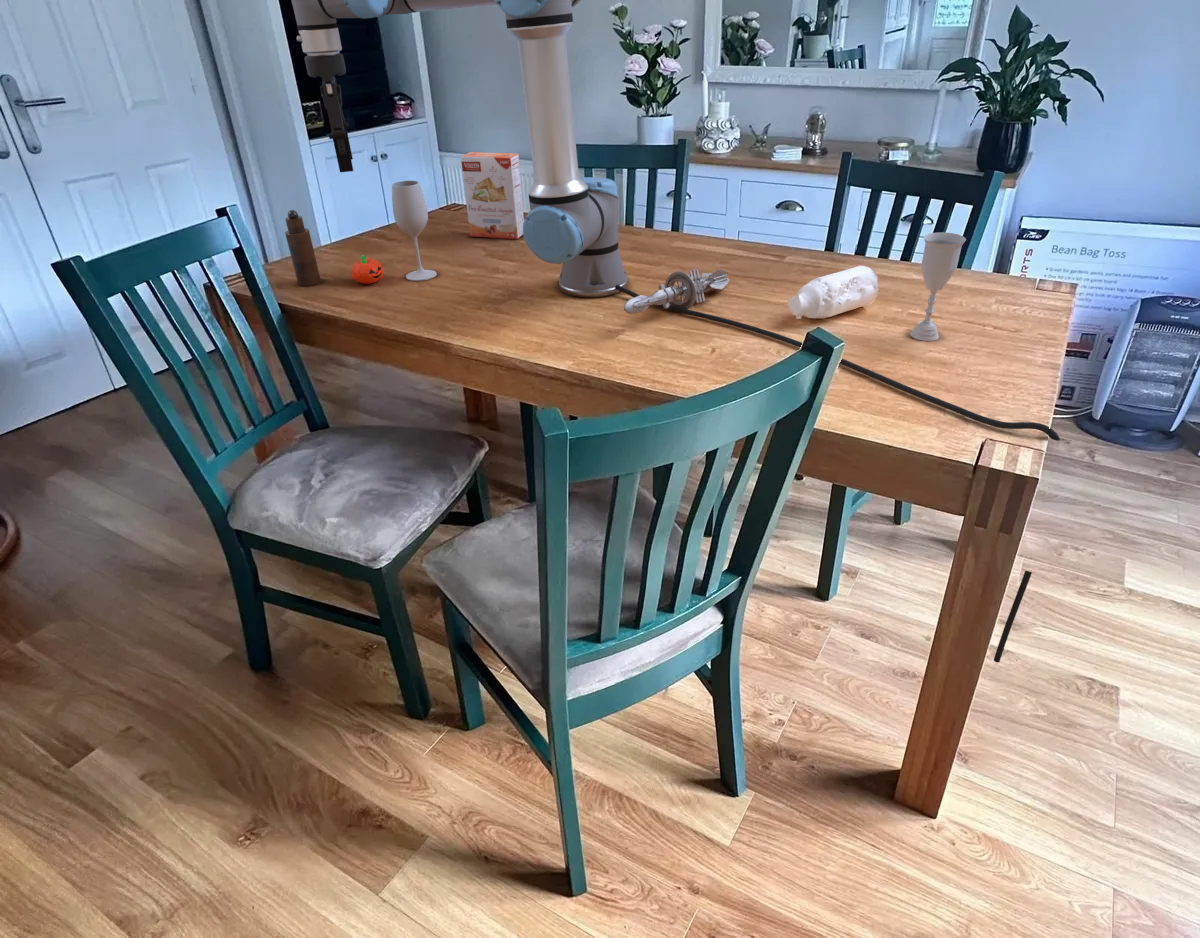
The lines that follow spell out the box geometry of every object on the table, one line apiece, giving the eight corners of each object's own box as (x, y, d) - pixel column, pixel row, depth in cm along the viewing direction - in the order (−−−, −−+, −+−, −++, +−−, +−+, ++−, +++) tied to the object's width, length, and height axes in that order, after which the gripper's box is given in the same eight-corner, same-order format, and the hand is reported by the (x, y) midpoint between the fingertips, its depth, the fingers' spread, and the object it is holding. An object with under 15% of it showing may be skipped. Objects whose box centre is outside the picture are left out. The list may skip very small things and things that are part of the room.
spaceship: (604, 291, 145) (635, 283, 140) (707, 262, 169) (738, 254, 163) (614, 332, 147) (645, 326, 142) (715, 298, 171) (745, 291, 165)
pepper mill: (325, 281, 181) (308, 209, 172) (305, 287, 177) (286, 214, 168) (313, 277, 184) (296, 206, 175) (293, 283, 180) (275, 210, 171)
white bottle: (777, 319, 151) (781, 280, 147) (846, 298, 159) (851, 261, 155) (806, 332, 146) (810, 291, 141) (876, 309, 153) (882, 271, 149)
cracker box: (469, 237, 207) (459, 155, 196) (478, 231, 212) (469, 151, 201) (517, 240, 203) (509, 156, 192) (526, 233, 208) (518, 152, 197)
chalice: (913, 325, 147) (932, 230, 137) (949, 333, 143) (971, 236, 133) (898, 337, 142) (917, 240, 132) (936, 346, 138) (957, 246, 128)
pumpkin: (387, 275, 183) (382, 248, 179) (381, 287, 176) (375, 259, 173) (357, 277, 183) (351, 250, 179) (350, 288, 176) (343, 261, 172)
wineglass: (433, 280, 178) (418, 187, 167) (401, 281, 179) (384, 188, 167) (440, 270, 185) (426, 179, 173) (409, 270, 185) (393, 180, 174)
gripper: (306, 51, 163) (329, 156, 174) (300, 59, 143) (327, 178, 154) (342, 48, 165) (363, 153, 176) (342, 56, 144) (365, 174, 156)
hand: (346, 165), depth 165 cm, fingers open, 13 cm apart
